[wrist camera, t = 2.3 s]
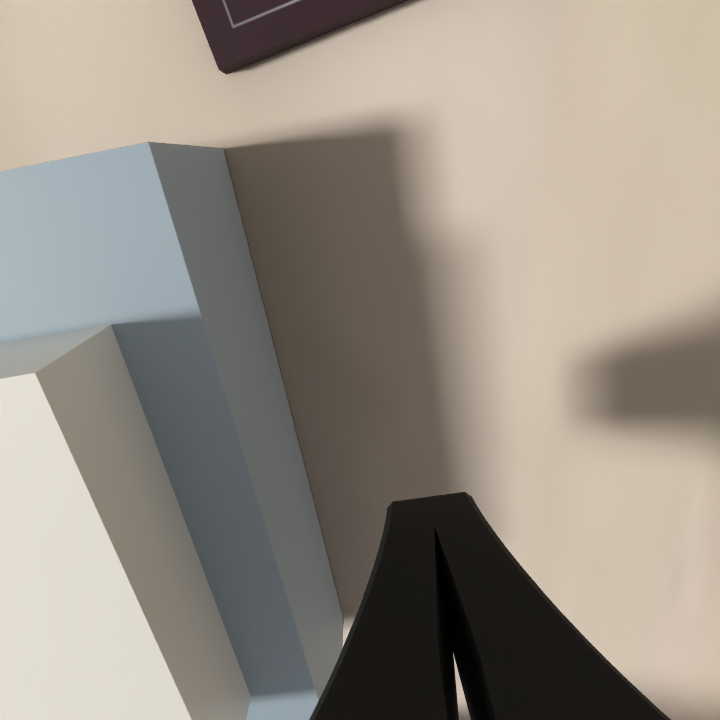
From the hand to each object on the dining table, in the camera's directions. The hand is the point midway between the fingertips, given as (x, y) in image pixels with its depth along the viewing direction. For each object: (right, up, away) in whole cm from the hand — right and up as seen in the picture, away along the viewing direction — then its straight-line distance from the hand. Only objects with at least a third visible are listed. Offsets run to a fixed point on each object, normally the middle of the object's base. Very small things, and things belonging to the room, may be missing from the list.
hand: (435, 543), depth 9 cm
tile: (-8, -1, +1) cm, 8 cm away
